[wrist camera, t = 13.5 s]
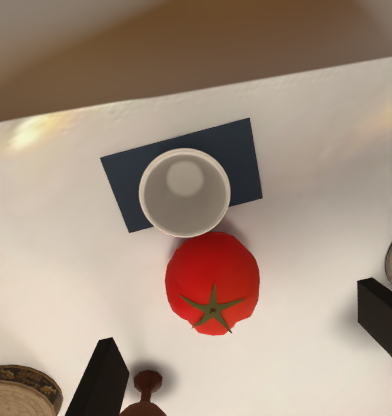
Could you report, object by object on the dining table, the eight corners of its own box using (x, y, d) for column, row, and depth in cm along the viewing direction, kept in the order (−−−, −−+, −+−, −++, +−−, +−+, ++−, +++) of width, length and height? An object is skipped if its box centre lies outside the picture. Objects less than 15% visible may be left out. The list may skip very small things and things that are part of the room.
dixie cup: (226, 186, 29) (247, 206, 19) (178, 219, 30) (175, 254, 20) (192, 133, 27) (196, 127, 17) (141, 171, 28) (118, 185, 18)
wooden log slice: (80, 392, 40) (72, 412, 37) (31, 434, 42) (20, 455, 39) (2, 351, 36) (-14, 369, 33) (-45, 399, 38) (-64, 420, 35)
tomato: (161, 228, 31) (149, 269, 21) (243, 215, 31) (271, 250, 21) (176, 301, 35) (173, 366, 25) (249, 289, 35) (276, 349, 25)
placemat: (248, 117, 27) (249, 117, 26) (261, 197, 30) (262, 198, 30) (101, 157, 27) (99, 157, 27) (129, 232, 31) (128, 233, 30)
